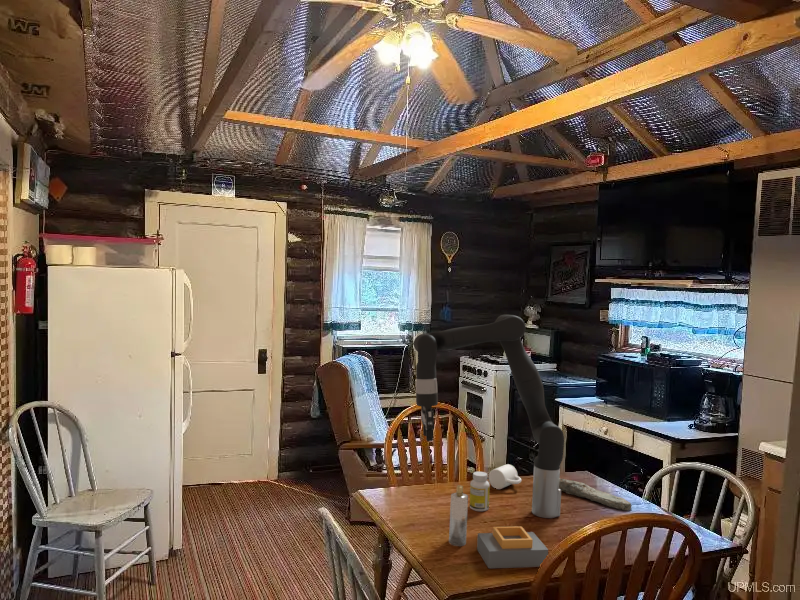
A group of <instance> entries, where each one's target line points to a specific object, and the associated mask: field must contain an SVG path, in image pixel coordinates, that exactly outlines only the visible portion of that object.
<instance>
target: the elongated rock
mask: <svg viewBox="0 0 800 600" xmlns="http://www.w3.org/2000/svg"><path fill="white" fill-rule="evenodd" d="M559 489H560V490H561V492H564V493H565V494H566V495H567V494H569V495H573V496H576V497H580V498H586V499H588V500H590V502H591V501H592V502H595V503H599V504H602V505H603V506H606V507H609V508H611V509H612V508H613V509H618V510H623V511H630V510H632V503H631V502H630V501H628V500H627V499H625V498H623V497H620V496H616V495H614V494H611V493H608V492H605V491H601V490H599V489H595V488H594V487H591V486H590V485H588V484H586V483H584V482H579V481H576V480H570V479H565V478H560V479H559Z"/></svg>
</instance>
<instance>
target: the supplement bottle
mask: <svg viewBox="0 0 800 600" xmlns="http://www.w3.org/2000/svg"><path fill="white" fill-rule="evenodd" d="M469 485H470V487H469V508H470V509H471V510H473V511H475V512H486V511H488V510H489V509H490V488H491V487H490V485H491V484H490V482H489V480H488V473H487V472H485V471H473V473H472V480H470V484H469Z"/></svg>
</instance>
